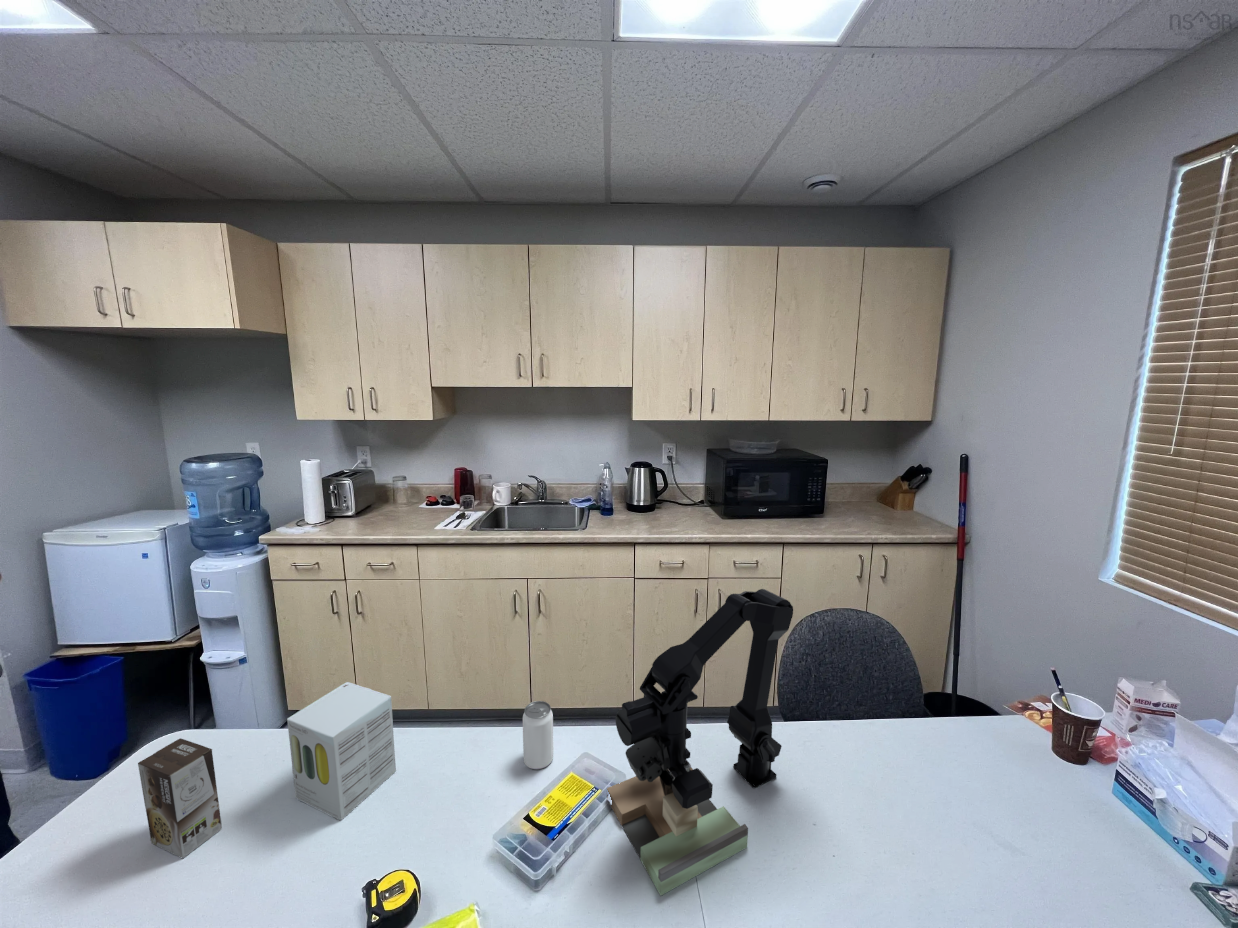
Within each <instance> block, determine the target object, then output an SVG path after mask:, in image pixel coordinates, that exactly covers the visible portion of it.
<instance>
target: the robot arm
mask: <svg viewBox="0 0 1238 928" xmlns="http://www.w3.org/2000/svg"><path fill="white" fill-rule="evenodd" d="M725 599H726V600H725V602H724V603H723V604H722V606H720V607H719V608H718V609H717V611H716V612H714V614H712V615H711V616H710V617H709V618H708V620H706V621H705V622H704V624H702V625H701V626H700V627H699V628H698V630H696V631H695V632H694V633H693V634H692V635H691V636H690V637H689V638H688V639H687V640H686V641H684V642H683V643H680V644H677V645H673V646H671V647H669V648H668V649H666V650H664V652H662V653H661V654H659V655H658V656H657V657H656V658H655V660H654V661H653V662H652V664H651V667H650V670H648V673H647V674H646V677H645V678H644V680H643V681H642V683H641V684H640V687H639V690H640V691H641V693H642V694H643V697H641V698H640V697H639V698H638V699H635V700H631V701H630V700H629V701H626V702H624V703H622V704H621V708H620V709H618V710H617V712H616V715H615V716H614V718H615V725H616V730H617V733H618V736H619V738H620V740H621V742H622V744H623V745H624V746H626V747H628V748H627V749H626V750H625V756H626V759H627V762H628V763H629V766H630V767H629V768H631V770H632V771H633V772H634V774H635V776H637V778H638V779H639V780H640V781H644V780H646V779H647V780H648V782H652V781H653V780H655V779H656V778H657V777H660V781H661V784H662V788H663V792H664V795H665V796H666V795H668V794H670V793H673V794H674V796H675V798H676V799H677V801H678V802H679V803H680V805H681V806H682V808H686V809H688V808H690V807H692V806H695V805H697V804H699V803H701V802H703V801H705V800H708V799H709V800H711V799H712V797H713V785H714V784H713V783H712V782H711V781H710V780H709V778H708V777H707V776H706V775H705V773H704V772H703V771H702V770H701V769H700V768H697V767H696V768H692V764H691V763H690V762H689V761H688V760H687V759H689V758H691V752H690V750H689V749H688V748H687V740H688V739H691V738H692V732H691V730H690V729H689V728H688V727H687V726H688V725H687V724H688V703H690V702H693V701H696V700H698V697H699V696H698V694H696V693H695V692H694V690H693V689H694V688H695V687H696V686H697V684H698V682H699V681H700V680H701V677H702V673H703V669H704V666H705V665H706V663H707V662H708V661H709V660H710V659H711V658H712V657H713V656H714V655H715V654H716V653H717V652H718V651H719V649H721V648H722V646H723V645H724V644H726V642H728V640H729V639H730V638H731V637H732V636H733V635H734V634H735V633H736V632H737V631H738V630H739V629H740V628H741V627H742V626H743V625H744V624H745V623H746V622H749V623H750V627H751V630H752V639H751V645H750V651H749V656H748V662H747V669H746V674H745V679H744V680H745V681H744V687H743V692H742V698H741V699H740V700H739V701H738V703H736V704H735V705H731V706H730V707H729V715H728V719H727V721H726V723H727V724H728V729H729V730H728V731H730V733H731V734H732V735H733V738H735V739H737V740H738V741H739V742H740V743H741V744H740V745H739V749H738V750H739V751H738V753H737V762H734V763H733V765H732V766H733V769H734V770H736V771H737V773H738V774H739V775H741V777H742V778H743V779H744V780H745V781H746V782H747V783H748V785H750V786H751V787H752V788H753V789H756V788H758V787H761V786H762V785H764V784H767V783H768V782H772V780H775V779H776V778H777V773H776V772H774V771H773V769H772V763H774V762H775V761H776V760H775V759H776V757H778V756H779V755H780V752H781V749H782V747H783V746H782V744H780V743H779V742H778V741H777V740H776V739H775V738H773V721H772V717H771V716H770V712H769V708H768V705H769V704H768V702H769V698H770V691H771V686H772V679H773V674H774V667H775V662H776V656H777V655H776V654H777V651H778V644H779V640H780V639H781V638H782V637H783V636H784V635H785V634H786V633H787V632H788V631H789V629H790V625H791V624H792V623H791V622H792V620H793V617H794V615H793V614H794V606H793V604H792V603H791V602H790V600H788V599H786V598H784V597H782V596H780V595H778V594H775V592H774V593H773V592H771V591H769V590H767V589H764V588H759V589H758V590H756V591H748V590H747V591H746V590H744V591H743V592H741V593H730V594H729V595H728V596H727V597H726V598H725ZM656 684H657V685H659V686H660V688H662V689H663V691H661V692H660V691H659V689H658V688H656V687H655V685H656ZM629 746H630V747H629ZM689 768H692V769H693V770H690V769H689Z"/></svg>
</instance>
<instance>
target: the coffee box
mask: <svg viewBox="0 0 1238 928" xmlns="http://www.w3.org/2000/svg"><path fill="white" fill-rule="evenodd" d="M213 755H214V754H213V749H212V748H210V747H207V746H205V745H201V744H199V743H196V742H192V741H191V740H190V741H189V740H187V739H184V738H179V739H177V740H174V741H173V742H171V743H169V744H168V745H165V746H164V747H162V748H161V749H158V750H157V751H156V752H154V753H153V754H150V755H149V756H148V757H145V758H144V759H142V760H140V761H139V762H137V766H138V772H139V778H140V784H141V789H142V795H143V801H144V807H145V812H146V819H147V824H148V829H149V836H150V842H151V844H153V845H154V846H156V847H158V848H161V849H162V850H164V851H166V852H169V853H170V854H173V855H175V856H177V857H179V858H181V859H184V858H186V857H187V856H188V855H190V854H191V853H192V852H193V851H195V850H196V849H197V848H199V847H200V846H201V845H203V844H204V843H205V842H206V841H208V840H210V839H211V838H212V837H213V836H215V835H216V834H217V833H219V832H220V831H221V830H222V829H223V826H222V818H221V811H220V804H219V803H220V802H219V796H218V786H217V780H216V779H217V778H216V771H215V763H214V757H213Z"/></svg>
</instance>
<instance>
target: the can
mask: <svg viewBox="0 0 1238 928" xmlns="http://www.w3.org/2000/svg"><path fill="white" fill-rule="evenodd" d="M551 708H552V707H551V704H550V703H549V702H547V701H544V700H536V701H531V702H530V703H528V704H527V705H526V706H525V708H524V713H523V715H522V743H523V744H522V749H523V751H522V752H523V763H524V764H525V766H526V767H527V768H529V769H530V770H531V769H532V770H542V769H545V768H546V767H548V766H549V765H550V764H551V763H552V762H553V760H554V716H553V714H554V713H553V710H552V709H551Z"/></svg>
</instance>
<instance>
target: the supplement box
mask: <svg viewBox="0 0 1238 928" xmlns="http://www.w3.org/2000/svg"><path fill="white" fill-rule="evenodd" d="M286 721H287V728H288V729H287V732H288V739H289V748H290V758H291V768H292V776H293V778H292V779H293V786H294V794H295V795H294V797H295V799H296V800H298V801H301V802H302V803H305V804H306V805H308V806H310V807H312V808H314V809H316V810H318V811H320V812H322V813H324V814H326V815H328V816H330V817H332V818H334V819H336V820H338V821H342V820H343V819H344V818H345V817H347V816H348V815H349V814H350V813H351V812H352V811H353V810H355V808H357V807H358V806H359V805H360V804H361V803H362V802H363V801H365V800H366V798H368V797H369V796H371V794H372V793H374V791H376V790H377V789H378V788H379V787H380V786H381V785H382V784H383V783H385V782H386V781H387V780H388V779H389V778H391V777H392V775H393V774H394V773H396V772H397V767H396V766H397V764H396V753H395V752H396V751H395V738H394V725H393V724H394V723H393V703H392V696H391V695H390V694H386V693H383V692H379V691H377V690H373V689H371V688H370V687H365V686H361V685H358V684H356V683H352V682H350V681H346V682H345V683H343V684H341V685H339V686H338V687H336V688H334V689H333V690H331V691H330V692H328V693H326V694H325V695H323V696H321V697H320V698H318V699H317V700H315V701H314V702H312V703H310V704H309V705H307V706H305V707H304V708H302V709H300V710H298V711H297V712H295V713H293V715H291V716H289V717H287V718H286Z"/></svg>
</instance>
